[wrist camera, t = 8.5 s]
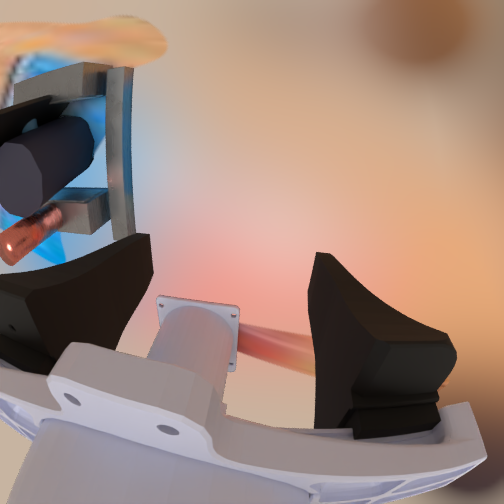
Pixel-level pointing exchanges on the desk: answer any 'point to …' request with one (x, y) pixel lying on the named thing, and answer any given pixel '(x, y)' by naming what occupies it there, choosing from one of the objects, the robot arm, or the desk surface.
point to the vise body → (117, 124)
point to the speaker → (40, 153)
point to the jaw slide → (56, 220)
